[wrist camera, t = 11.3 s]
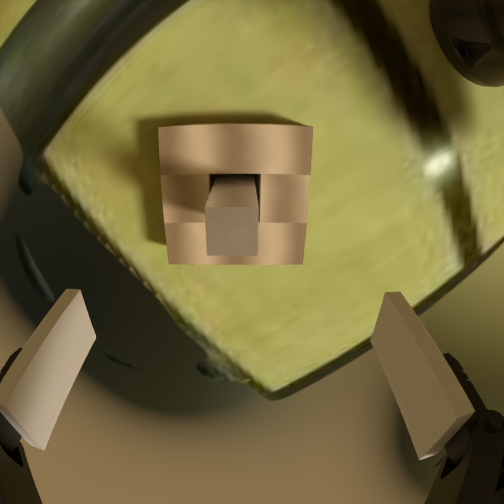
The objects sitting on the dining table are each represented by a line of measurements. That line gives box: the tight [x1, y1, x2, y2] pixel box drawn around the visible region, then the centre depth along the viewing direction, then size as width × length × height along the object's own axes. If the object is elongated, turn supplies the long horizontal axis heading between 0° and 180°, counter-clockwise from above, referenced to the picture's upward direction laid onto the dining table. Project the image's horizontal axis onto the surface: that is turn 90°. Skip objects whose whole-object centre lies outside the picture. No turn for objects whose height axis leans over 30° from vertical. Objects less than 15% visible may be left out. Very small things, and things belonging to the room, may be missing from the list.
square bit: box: [205, 174, 259, 256], centre depth 26 cm, size 4×4×12 cm
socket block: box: [158, 123, 313, 265], centre depth 30 cm, size 14×14×4 cm
